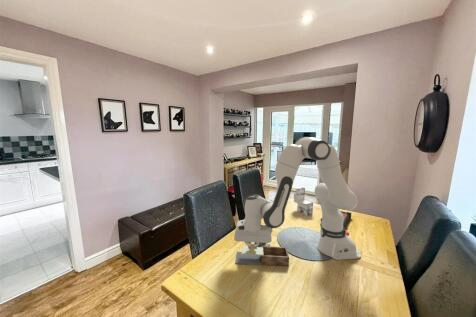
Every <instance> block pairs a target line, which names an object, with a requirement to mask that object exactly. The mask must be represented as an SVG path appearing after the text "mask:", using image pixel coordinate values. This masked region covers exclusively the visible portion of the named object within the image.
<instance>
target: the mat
mask: <svg viewBox="0 0 476 317" xmlns="http://www.w3.org/2000/svg"><path fill="white" fill-rule="evenodd" d="M260 257H261V256H251V255H242V251H236V257H235V264H236V265H250V266H251V265H252V266H253V265H254V266H261V258H260Z"/></svg>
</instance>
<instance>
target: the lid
mask: <svg viewBox="0 0 476 317" xmlns="http://www.w3.org/2000/svg"><path fill="white" fill-rule="evenodd" d="M254 245H255V242H251V249H248V246H246V245H245V246H241V247H242V248H241V252H242V255H251V256H260V257H261V256H262V255H263V247H257V249H254Z"/></svg>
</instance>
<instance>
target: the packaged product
mask: <svg viewBox="0 0 476 317" xmlns="http://www.w3.org/2000/svg"><path fill="white" fill-rule="evenodd" d="M249 244H251V242H249ZM256 244H257V242H255V245H256ZM261 246H271V243H262V242H259V245H258V246H257V247H261Z"/></svg>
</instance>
